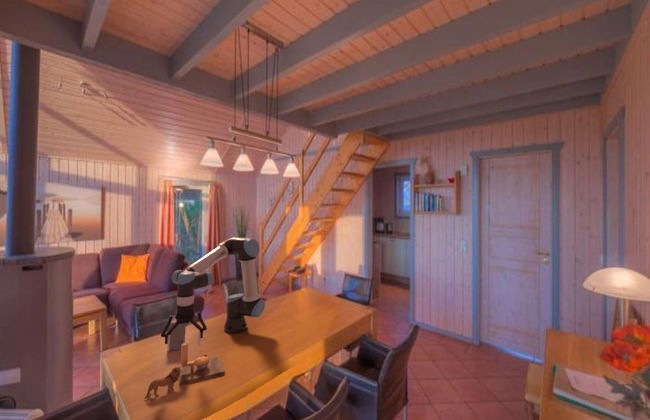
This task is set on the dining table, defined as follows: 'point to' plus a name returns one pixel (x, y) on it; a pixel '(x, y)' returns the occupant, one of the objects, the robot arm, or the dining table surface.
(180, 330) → the skincare box
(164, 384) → the lion figurine
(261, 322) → the dining table surface
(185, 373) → the board
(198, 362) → the tan piece
